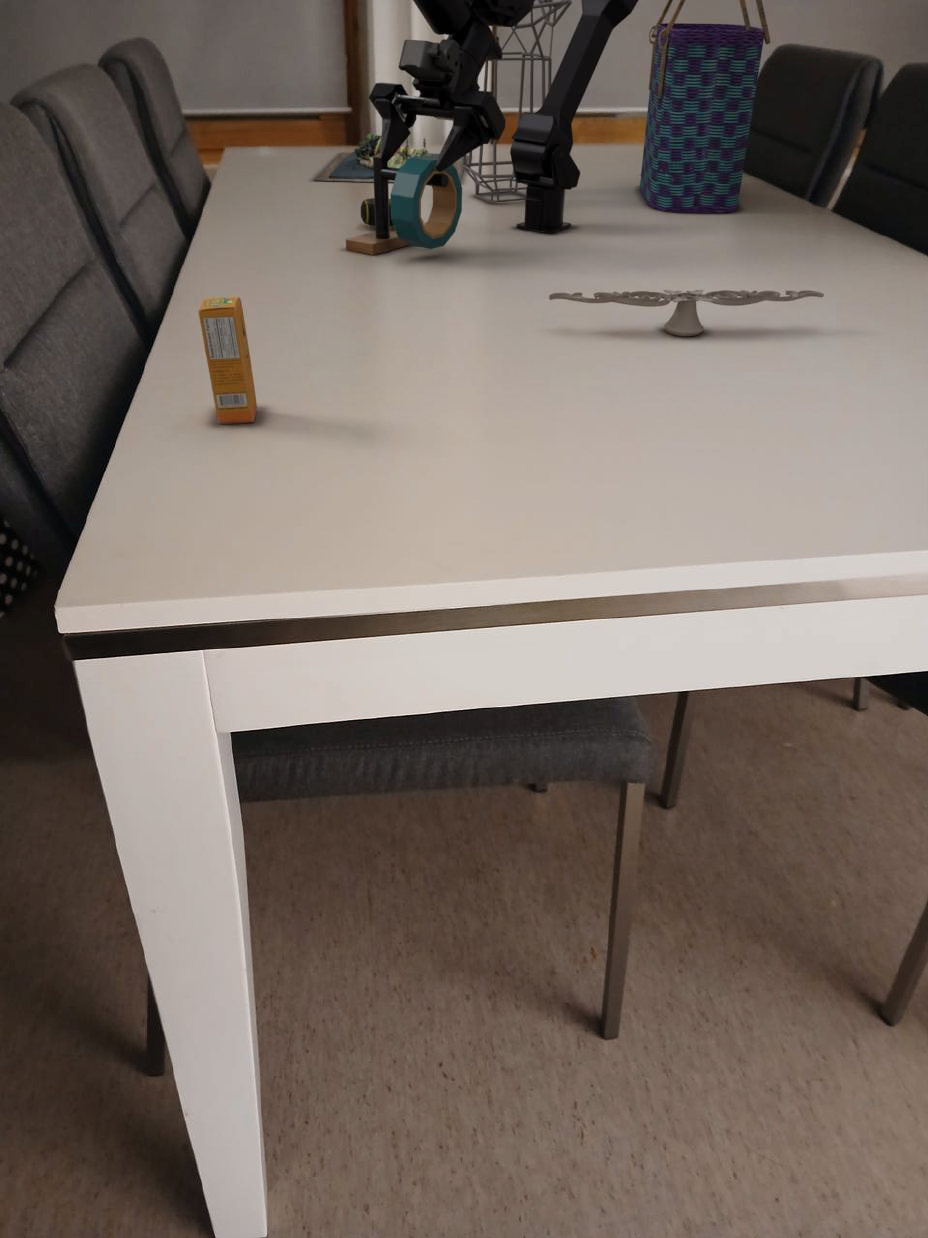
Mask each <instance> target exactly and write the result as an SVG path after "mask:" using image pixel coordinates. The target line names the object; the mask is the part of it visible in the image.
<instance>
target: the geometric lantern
mask: <svg viewBox="0 0 928 1238" xmlns="http://www.w3.org/2000/svg"><path fill="white" fill-rule="evenodd" d="M537 2H538V3H537V4H535V3H534V4H533V8H532V10H531V12H530V22H527V23H521V24H519V23H518V24H517V25H516V26H513V27H510V29H511V30H512V31H511V33H510V35H509V36H508V38H507V39H506V40H505V42H504V44H503V45H502V46H501V49H502V56H509V55H510V56H511V55H512V56H513V55H515V56H516V55H521V57H502V59H501V60H486V62H485V64H484V76H483V77H484V78H483V91H487V90H488V78H489V62H493V95H494V97H495V99H496V101H497V102H498V61H500V62H503V61H521V69H520V70H521V71H520V85H519V100H518V101H519V102H518V114H517V117H518V118H517V126H518V125H519V122H520V118H521V117H522V115H523V114H522V113H523V98H524V97H523V96H524V83H525V82H524V81H525V69H526V66H525V65H526V61H530V67H529V69H530V70H529V72H530V73H529V79H530V80H529V113H534V61H541V106H542V105H543V103H544V101H545V98H546V62H548V63H547V92H548V91H549V89H550V87H551V84H552V70H553V69H552V68H553V67H552V66H553V65H552V63H553V62H552V59H553V58H552V51H553V39H554V27H556V25H557V24H558V22H559V21H560V20H561V19H562V17H563V16H564V14H565V13H566V12H567V10H568V9H569V8H570V6H571V5H572V3H573V1H572V0H556V1H554V0H537ZM545 8H548V11H547V12H546V10H545ZM536 9H540V10H541V14H542V15H541V16H540V17H538V18H537V19H536V20H534V10H536ZM560 9H562V10H561V11H560V12H559V13H558V14H557V11H558V10H560ZM552 14H553V18H552V21H550V20H551V19H550V18H551V15H552ZM542 21H543V23H542V26H541V27H540V30H539V32H537V29H536V26H537V24H539V23H541V22H542ZM546 26H549V27H551V28H550V29H551V30H550V44H549V54H548V55H544V52H543V49H542V45H541V42H540V39H541V37H542V35H543V32H544V30H545V28H546ZM526 28H531V29H532V32H533V35H534V38H535V41H534V43H533V45H532V47H531V50H530V51H529V52H528V51H527V49H526V48H525V46H524V44H523V43H522V40H521V39H520V37H519V35H518V34H517V32H516V31H517V30H519V29H526ZM513 35H514V36H515V37H516V39H517V41H518V43H519V44H520V46H521V48H522V49H523V51H524V52H523V51H504V49H505V48H506V46H507V45H508V42H509V41H510V40H511V38H512V36H513ZM536 48H537V49H538V53H539V54H538V53H535V49H536ZM476 81H477V83H478V84H479V77H478V78H477V80H476ZM478 154H479V155H478V162H472V160H473V151H471V152H469V153H468V163H467V160H466V156H467V154H466V155H465V156H463V165H462V167H463V169H464V170H463V171H464V172H466V173H467V175H468V176H469V178H470V179H471V180H472V181H473V182H474V187H475V188H474V189H475V191H474V192H475V194H474V197H476V198H477V199H481V200H483V201H485V202H488V203H493V204H494V203H505V202H506V203H508V202H520V201H525V200H526V192H525V193H524V192H522V191H523V190H525V191H526V187H527V184H524V183H521V184H522V185H525V186H524V187H523V186H522V187H519V186H518V185H519V183H516V180H515V175H514V170H513V169H512V173H511V174H497V166H502V165H512V160H499V161H497V140H492V161H483V156H484V155H483V154H484V144H483V145H481V146H479V153H478ZM484 166H485V167H486V166H492V174H482V171H483V167H484ZM472 167H478V171H475V169H472ZM485 179H487V180H485ZM488 179H489V180H488ZM498 182H509V187H501V188H500V187H499V188H498ZM513 182H514V183H515V186H514V187H513ZM488 183H494V188H492V187H491V186H490V185H489V184H488ZM480 187H483V188H484V189H486V190H488V191H487V192H480ZM509 193H510V194H518V195H521V196H525V197H520V198H519V197H518V198H517V197H516V198H506V199H505V198H504V199H500V194H509ZM487 195H488V196H489V195H490V198H488V197H487V198H486V197H484V196H487ZM494 195H496V199H494Z"/></svg>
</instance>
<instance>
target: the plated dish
mask: <svg viewBox="0 0 928 1238" xmlns="http://www.w3.org/2000/svg"><path fill="white" fill-rule="evenodd" d="M381 136H382V135H379V134H376V135H375V134H374V133H372V132H371V133H368V134H367V135H366V136H365V139H367V140H362V141H361V140H360V141H358V146H357V148H356V147H355V149H354V151H351V153H342V154H340V155H339V156H338V157H337V158H336V159H335V160H334V161H333V162H331V163H330V164H329V166H327V167H326V168H325V169H324V170H323V171H322V172H321V173H320V174H319V175H317V177H315V179H314V181H324V182H325V181H328V182H364V183H365V182H366V183H374V176H373V156H375V155H380V145H381ZM426 140H427V139H426V138H425V137H423V142H422V143H423V144H422V146H423V148H420V147H419V148H417V149H416V148H414V147H413V148H410V145H409V138H407V139H406V140H405V144H406V145H405V146H404V147H403V146H402V147H400V148H399V149H398V150H397V152H396V153H395V154H394V155H393V157H392V158H391V159H390V160H389V161H388V167H393V168H401V167H402V166H403V165H404V163H405V162H406V161H407V160H408V159H409V158H411V157H418V156H429V157H437V158H438V157H439V154H440V153H429V150H427V149H426V148H427V146H426V145H427V142H426ZM468 158H469V155H466V161H468ZM452 165H453V166H454V167H455V168H456V169H457V173H458V176H459V179H460V180H461V179H462V176H463V173H464V171H465V170H464V169H463V167H462V165H463V157H462V158H460V159H459V160H458V161H456V162H455V163H453V164H452ZM388 183H394V180H388Z"/></svg>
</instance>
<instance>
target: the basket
mask: <svg viewBox="0 0 928 1238" xmlns="http://www.w3.org/2000/svg"><path fill="white" fill-rule="evenodd" d="M673 1H674V0H667V1H666V3H665V5H664V7H663V9H662V12H661V14H660V15H659V18H658V20H657V22H656V24H654V25H652V26H651V27H650V29H649V32H648V41H649V44H651V45H652V51H651V60H650V69H649V70H650V72H649V80H648V81H649V82H648V91H649V92H648V93H649V95H648V103H647V113H646V122H645V123H646V124H645V132H644V140H643V141H644V143H643V151H642V152H643V153H642V162H641V171H640V182H639V193H640V194H641V196H642V198H643V200H644V201H645V203H646V204H647V206H648V207H650V208H651V209H653V210H657V211H661V212H667V213H677V214H679V213H680V214H717V215H718V214H730V213H734V212H736V211H738V207H739V200H740V194H741V193H740V192H741V187H742V181H743V174H744V167H745V162H746V155H747V149H748V141H749V136H750V129H751V123H752V117H753V110H754V104H755V98H756V92H757V84H758V78H759V73H760V72H759V71H760V66H761V59H762V53H763V48H764V43H765V45H769V44H771V36H770V30H769V27H768V22H767V18H766V12H765V9H764V4H763V0H755V3H756V7H757V8H756V9H757V12H758V17H759V21H760V25H761V28H760V27H756V26H751V22H750V16H749V13H748V12H749V11H748V8H747V3H746V0H739V4H740V5H739V6H740V9H741V13H742V18H743V22H744V24H732V23H731V24H730V23H679V22H678V23H677V22H676V21H677V19H678V17H679V15H680V12H681V10H682V8H683V6H684V4H685V2H686V0H679V2H678V3H677V6H676V7H675V9H674V12H673V13H672V16H671V18H670V20H669V22H665V23H663V22H664V20H665V17H666V15H667V14H668V11H669V9H670V8H671V6H672V3H673ZM651 38H652V39H654V40H652V39H651Z"/></svg>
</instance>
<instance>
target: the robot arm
mask: <svg viewBox="0 0 928 1238" xmlns="http://www.w3.org/2000/svg"><path fill="white" fill-rule="evenodd" d="M412 1H413V3H414V4H415V6H416V7H417V9H418V11H419V13H421V15H422V17H423V18H424V20H425V21H426V22H427V24H428V26H429V27H430V29H431V30H432V33H434V34H436V35H439V36H443V35H446V36H447V37H446V38H444V39H441V41H440V42H433V41H431V40H430V41H429V40H421V39H420V40H419V39H405V40H404V41H403V44H402V49H401V54H400V58H399V62H398V69H399V70H400V71H404V72H406V74H407V75H410V76H411V77H412V78H413V80H412V83H411V84H412V86H413V88H414V90H415V91H418V92H419V96H414V95H413V96H412V95H409V94H408V92H407V91H406V89H405V87H404V85H403V84H402V83H392V82H375V84H374V86H373V88H372V89H371V92H370V94H369V95H368V99H369V101H370V102H371V104H372V105H373V107H374V109H375V110H376V111H377V113H378V115H379V116H380V118H381V135H380V136H381V145H380V155H379V160H380V162H381V163H382V164H383V165H385V164H386V163H387V162H388V161H389V160H390V159H391V158H392V157H393V155H394V154H395V153H396V152H397V150H398V149H401V147H402V145H403V144H404V143H405V142H406V141H407V140H406V139H407V138H408V137H409V136H410V135H411V134H412V133H411V131H410V128H412V127H413V126H414V125H415V123H416V121H417V116H422V117H431V118H435V119H436V120H442V121H452V126H451V129H450V131H449V133H448V135H447V137H446V139H445V141H444V144H443V146H442V149H441V150H440V152H439V153H438V154H439V157H438V160H437V163H436V166H435V167H436V169H437V171H438V172H442V171H444V170H445V169H446V168H448V167H449V166H451V165H452V164H453V163H455V162H456V161H458V160H459V159H460V158H462V157H463V156H465V155H466V156H467V155H469V152H471V151H472V152H473V151H474V150H476V149H478V148H480V146H481V145H483V146H484V145H489V143H491V141H493V140H496V141H499V140H500V139H501V137H502V135H503V133H504V131H505V129H506V118H505V116H504V114H503V111H502V109H501V108H500V105H499V103H498V100H497V101H496V99H495V97H494V92H492V91H491V90H490V91H484V90H480V89H481V86H480V84H479V82H478V83H477V81H476V80H477V78H478V79H479V76H480V75H481V72H482V70H483V68H484V67H485V62H486V60H501V59H502V58H504V57H503V56H504V55H502V52H503V50H502V49H501V48H502V46H501V44H500V38H499V36H498V35H496V36H495V34H494V33H493V30H492V29H491V27H497V28H498V27H499V28H511V27H513V28H514V26H516V25H517V24H518V25H519V23H520V22H521V21H522V20H524V19H525V18H526V17H527V16H528V15H529V14H531V10H532V8H533V4H534V5H535V2H536V0H412ZM580 1H581V11H582V12H581V16H580V18H579V20H578V23H577V25H576V27H575V30H574V31H573V34H572V37H571V39H570V41H569V43H568V44H567V45H568V46H567V48H566V50H565V52H564V55H563V57H562V59H561V62H560V64H559V66H558V69H557V71H556V73H555V76H554V78H553V80H552V81H551V87H550V89H549V91H548V90H547V94H546V95H545V101H544V103H543V105H542V104H541V107H540V108H539V109H538V110H536V111H535V112H533V113H530V112H527V111H526V112H523V114H521V118H520V122H519V125H518V124H517V128H516V130H515V132H514V133H513V134H512V135H511V137H510V138H511V139H512V140H513V141H512V143H511V146H510V151H509V154H510V159H511V160H510V161H512V164H511V165H512V171H513V170H514V175H515V178H514V179H515V180H516V182H515V184H516V183H518V184H522V183H524V184H523V185H525V184H527V185H526V186H525V187H526V190H525V194H526V196H525V198H526V200H524V201H525V203H524V221H522V222H519V223H516V226H515V227H516V229H520V230H521V229H522V230H528V231H534V232H541V233H547V234H553V233H557V232H559V231H562V230H565V229H568V228H571V227H572V223H571V222H567V221H564V212H565V197H566V190H568V191H569V190H573V188H577V187H578V184H579V180H580V176H581V171H580V169H579V167H578V166H577V164H576V162H575V160H574V158H573V157H572V155H571V153H572V148H573V147H574V137H573V128H572V123H573V120H574V119H575V116H576V113H577V111H578V109H579V107H580V105H581V103H582V100H583V98H584V96H585V94H586V91H587V89H588V87H589V84H590V82H591V80H592V77H593V75H594V73H595V70H596V68H597V66H598V64H599V61H600V60H601V57H602V55H603V52H604V50H605V49H606V45H607V43H608V41H609V39H610V37H611V34H612V33H613V30H614V29H615V28H616V27H617V26H619V25H620V24H621V23H622V22H623V21H624V20H625V19H626V18H628V17H629V16H630V15H631V14H632V12H633V11H634V9H635V7H636V6H637V4H638V2H639V1H640V0H580ZM408 139H409V138H408Z"/></svg>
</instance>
